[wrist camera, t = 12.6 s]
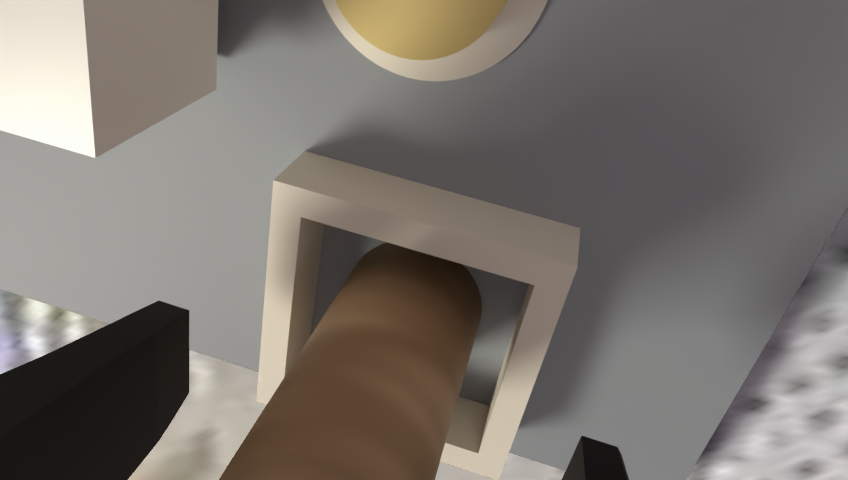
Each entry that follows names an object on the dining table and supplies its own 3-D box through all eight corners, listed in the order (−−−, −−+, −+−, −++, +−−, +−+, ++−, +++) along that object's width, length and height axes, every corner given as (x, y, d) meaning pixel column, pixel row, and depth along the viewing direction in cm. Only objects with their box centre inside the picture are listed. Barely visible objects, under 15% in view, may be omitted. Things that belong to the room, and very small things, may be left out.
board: (1031, -184, 10) (1163, -200, 7) (667, 465, 17) (676, 560, 14) (-70, -400, 12) (-240, -468, 9) (28, 264, 19) (-53, 319, 16)
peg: (496, 263, 14) (429, 497, 9) (465, 371, 15) (393, 622, 10) (358, 223, 14) (216, 425, 9) (341, 333, 16) (212, 557, 11)
